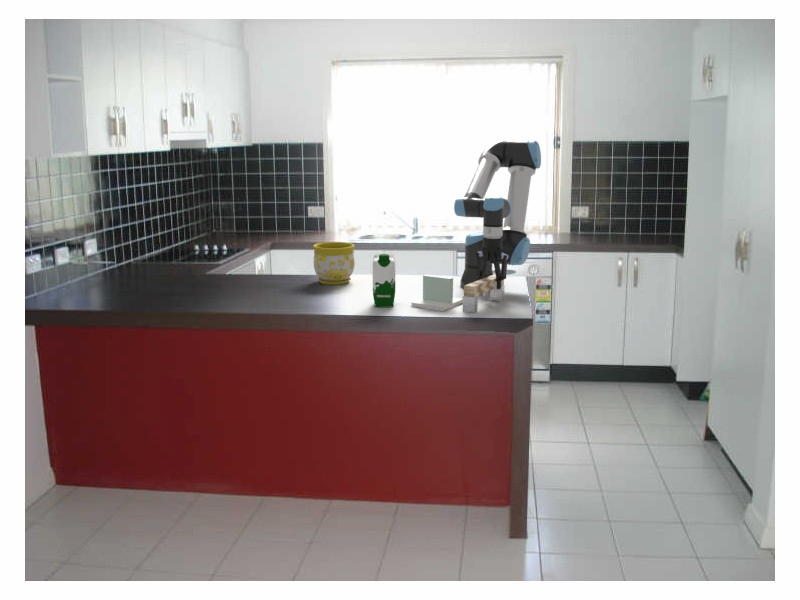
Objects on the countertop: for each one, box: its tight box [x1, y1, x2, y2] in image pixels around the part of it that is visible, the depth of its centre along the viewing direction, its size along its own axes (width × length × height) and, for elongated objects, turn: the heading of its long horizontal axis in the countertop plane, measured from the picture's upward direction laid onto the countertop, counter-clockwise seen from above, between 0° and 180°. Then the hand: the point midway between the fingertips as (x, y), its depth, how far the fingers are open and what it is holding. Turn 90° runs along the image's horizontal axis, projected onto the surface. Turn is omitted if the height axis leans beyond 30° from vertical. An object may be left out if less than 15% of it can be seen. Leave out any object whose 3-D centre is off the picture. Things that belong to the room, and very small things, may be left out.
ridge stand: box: [411, 274, 463, 312], centre depth 320 cm, size 16×14×11 cm
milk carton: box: [372, 253, 396, 308], centre depth 318 cm, size 9×9×20 cm
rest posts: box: [462, 284, 505, 314], centre depth 318 cm, size 25×5×6 cm, turn 147°
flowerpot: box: [312, 241, 356, 286], centre depth 360 cm, size 18×18×16 cm
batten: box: [463, 273, 505, 297], centre depth 317 cm, size 26×4×4 cm, turn 147°
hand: (491, 296), depth 323 cm, fingers closed on batten, 4 cm apart
